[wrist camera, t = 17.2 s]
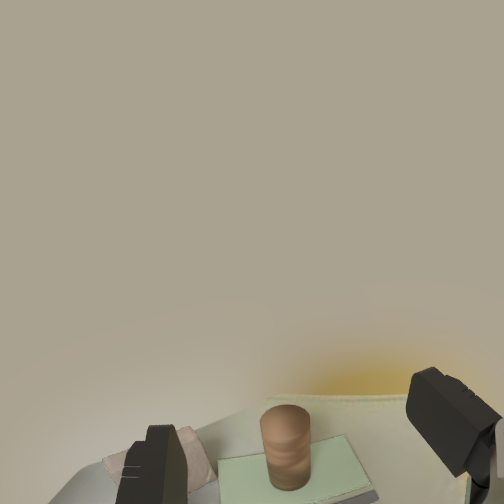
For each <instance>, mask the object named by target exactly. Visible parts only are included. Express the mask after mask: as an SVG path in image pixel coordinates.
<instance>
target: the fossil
mask: <svg viewBox="0 0 504 504" xmlns="http://www.w3.org/2000/svg"><path fill="white" fill-rule="evenodd" d="M176 432H177V435H178V438H179V440H180V443H181V445H182V448H183V450H184V452H185V455H186V459H187V465H188V493H190V492H192V491H194V490H196V489H199V488H201V487H203V486H204V485H205V484H207V483H209V482H212V481H214V480H216V479H217V476H216V474H215V473H214V471H213V469H212V467H211V464H210V461H209V459H208V457H207V454H206V452H205V450H204V448H203V445H202V443H201V441H200V439H199V437H198V435H197V434H196V433H195V432H194V431H193V429H192V428H191V427H189V426H188V427H184V428H181V429H180V430H177V431H176ZM128 450H129V449H127V450H125V451H122V452H120V453H117V454H115V455H111V456H108V457H106V458H103V459H102V460H103V463H104V465H105V467H106V469H107V471H108V473H109V474H110V476H111V477H112V479H113V480H114V482H115V483H116V485H117V486H118V488H119V484H120V479H121V478H122V476H121V475H122V470H123V468H124V462H125V457H126V453H127V451H128Z"/></svg>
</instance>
